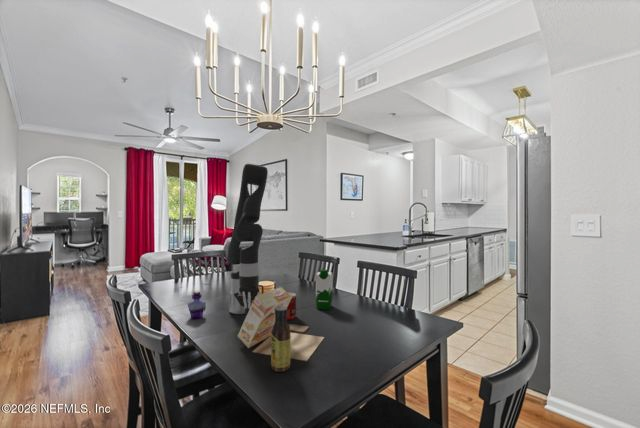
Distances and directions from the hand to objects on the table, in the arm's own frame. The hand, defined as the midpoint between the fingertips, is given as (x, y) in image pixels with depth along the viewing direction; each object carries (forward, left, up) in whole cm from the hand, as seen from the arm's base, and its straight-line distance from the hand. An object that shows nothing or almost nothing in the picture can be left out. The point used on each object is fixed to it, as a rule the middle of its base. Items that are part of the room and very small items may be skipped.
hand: (249, 317), depth 122 cm
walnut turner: (+9, +15, -9) cm, 20 cm away
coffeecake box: (+3, 0, -7) cm, 8 cm away
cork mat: (+18, 0, -9) cm, 20 cm away
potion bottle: (-36, +13, -9) cm, 40 cm away
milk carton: (+17, +47, -9) cm, 51 cm away
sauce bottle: (+22, -17, -9) cm, 29 cm away
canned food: (+5, +27, -9) cm, 29 cm away
